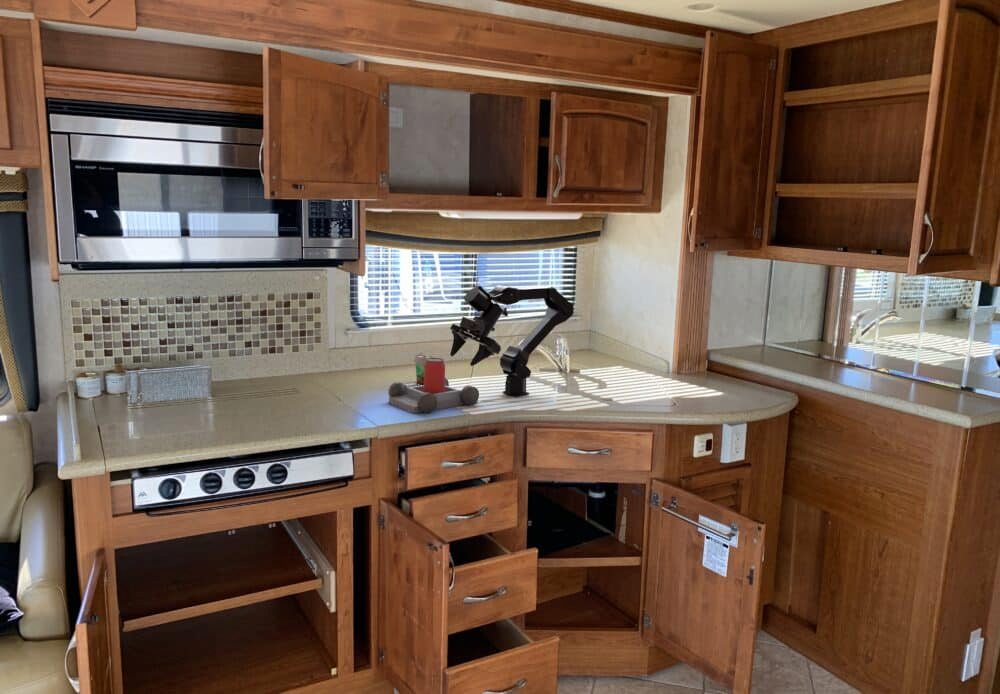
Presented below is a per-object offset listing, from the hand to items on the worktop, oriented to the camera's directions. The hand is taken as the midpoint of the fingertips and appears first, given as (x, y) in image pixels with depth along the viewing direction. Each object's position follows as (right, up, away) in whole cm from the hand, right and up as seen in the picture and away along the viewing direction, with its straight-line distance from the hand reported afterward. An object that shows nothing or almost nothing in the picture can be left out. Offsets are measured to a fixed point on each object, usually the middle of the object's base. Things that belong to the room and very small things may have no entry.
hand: (461, 360), depth 248 cm
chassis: (-9, -13, -1) cm, 16 cm away
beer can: (-8, -12, -1) cm, 14 cm away
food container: (-14, -9, +24) cm, 29 cm away
